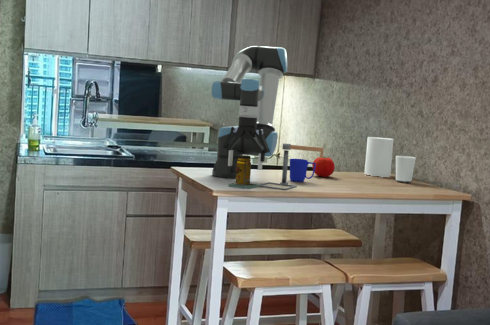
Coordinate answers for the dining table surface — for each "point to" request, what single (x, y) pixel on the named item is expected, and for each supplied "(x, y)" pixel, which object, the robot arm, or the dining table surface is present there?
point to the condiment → (243, 170)
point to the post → (285, 167)
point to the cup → (404, 168)
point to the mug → (299, 169)
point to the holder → (276, 187)
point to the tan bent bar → (303, 148)
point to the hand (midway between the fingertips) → (244, 167)
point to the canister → (379, 156)
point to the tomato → (323, 166)
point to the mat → (243, 185)
